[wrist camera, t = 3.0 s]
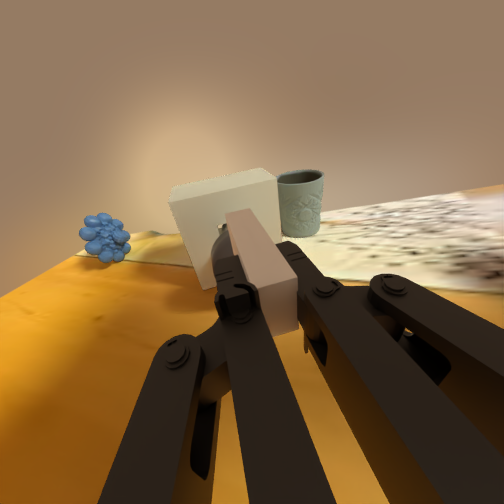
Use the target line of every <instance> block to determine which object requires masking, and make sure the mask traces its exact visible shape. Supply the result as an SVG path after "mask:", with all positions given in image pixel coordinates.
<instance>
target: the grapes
mask: <svg viewBox="0 0 504 504" xmlns="http://www.w3.org/2000/svg"><path fill="white" fill-rule="evenodd" d="M84 223H85V225H86V226H87V227H84V228H81V229H80V231H79V235H80V237H81V238H82V239H83V240H86V241H91V242H88V243H87V244H86V245H85V250H86V251H87V253H89V254H91V255H98V259H99V260H100V261H101V262H103V263H109V262H111V261H112V260H114V261H116V262H120V261H122V260H123V259H124V257H125V255H124V253H128V252H129V251H130V249H131V246H130V245H129V244H128V243H126V242H127V241H128V240H129V239H130V234H129V233H128V232H127V231H124V230H122V229H123V223H122V222H121V221H119V220H117V219H113V220H112V217H111V216H110V215H108V214H106V213H99V214H98V215H97V217H96V216H91V215H90V216H86V218H85V219H84Z"/></svg>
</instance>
